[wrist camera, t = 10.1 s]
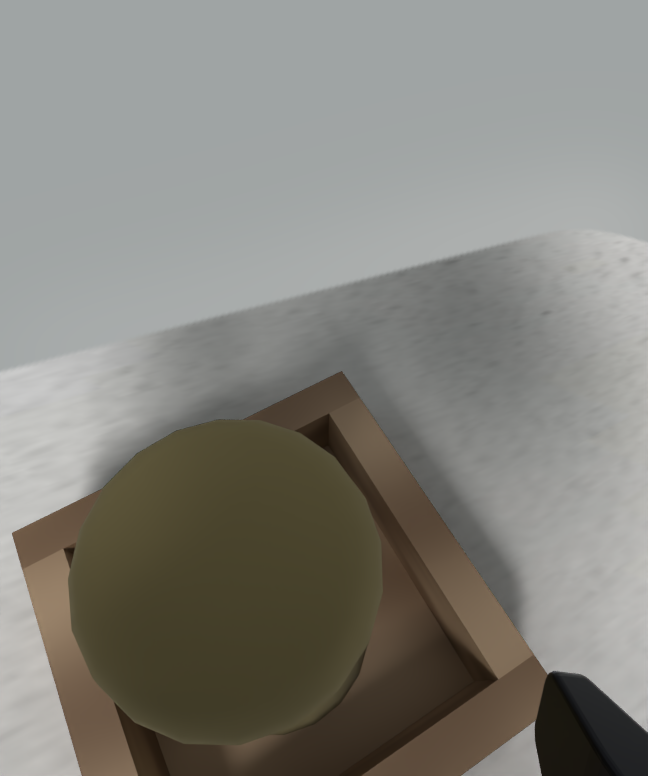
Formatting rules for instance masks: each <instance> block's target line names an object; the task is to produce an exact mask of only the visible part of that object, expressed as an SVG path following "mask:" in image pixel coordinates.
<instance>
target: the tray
mask: <svg viewBox="0 0 648 776" xmlns="http://www.w3.org/2000/svg"><path fill="white" fill-rule="evenodd" d="M243 420H261V421H264V422H268V423H271V424H274V425H277V426H280V427H283V428H286V429H290V430H293V431H296V432H299V433H301V434H303V435H304V436H305V437H307V438H308V439H310V440H311V441H313V442H314V443H315V444H317V445H318V446H320V447H321V448H323V449H324V450H325V451H327V452H328V453H330V454H331V455H332V456H334V457H335V458H336V459H337V461H338V462H339V463H340V465H341V466H342V467H343V469H344V470H345V471H346V473H347V474H348V475H349V477H350V478H351V479H352V481H353V482H354V483H355V484H356V486H357V487H358V488H359V490H360V491H361V492H362V494H363V495H364V497H365V498H366V500H367V503H368V506H369V509H370V512H371V515H372V517H373V520H374V523H375V526H376V529H377V532H378V535H379V537H380V540H381V548H382V580H383V594H382V597H381V601H380V605H379V608H378V612H377V615H376V619H375V623H374V626H373V630H372V633H371V637H370V640H369V644H368V645H367V649H366V652H365V656H364V659H363V663H362V666H361V670H360V674H359V676H358V677H357V679H356V681H355V682H354V684H353V685H352V687H351V688H350V690H349V691H348V693H347V695H346V696H345V698H344V699H343V701H342V702H341V703H340V704H339V705H338V706H337V707H336V708H334V709H333V710H332V711H331V712H329V713H328V714H327V715H326V716H325V717H323V718H322V719H321V720H320V721H318V722H317V723H316V724H314V725H311V726H308V727H306V728H303V729H300V730H297V731H294V732H291V733H289V734H286V735H268V736H265V737H262V738H259V739H256V740H254V741H251V742H248V743H245V744H242V745H204V744H183V743H181V742H178V741H176V740H174V739H172V738H169V737H167V736H165V735H162V734H160V733H158V732H155V731H153V730H151V729H148V728H146V727H144V726H141V725H139V724H137V723H135V722H134V721H133V720H132V719H131V718H130V717H129V716H128V715H127V714H126V713H125V712H124V711H123V710H122V709H121V708H120V707H119V706H118V705H117V704H116V703H115V702H114V701H113V700H112V699H111V698H110V697H109V696H108V695H107V694H106V693H105V692H104V691H103V690H102V689H101V688H100V687H99V686H98V685H97V683H96V682H95V681H94V679H93V678H92V676H91V674H90V671H89V669H88V667H87V665H86V662H85V660H84V658H83V655H82V653H81V651H80V648H79V646H78V644H77V642H76V639H75V637H74V635H73V632H72V629H71V616H70V602H69V588H68V576H69V572H70V568H71V563H72V559H73V555H74V551H75V547H76V542H77V538H78V534H79V530H80V528H81V526H82V525H83V523H84V521H85V519H86V517H87V516H88V514H89V512H90V510H91V509H92V507H93V505H94V503H95V501H96V500H97V498H98V496H99V494H100V493H101V491H102V489H101V490H99V491H97V492H95V493H93V494H90V495H88V496H86V497H84V498H82V499H80V500H78V501H76V502H74V503H72V504H70V505H68V506H66V507H64V508H62V509H60V510H58V511H56V512H54V513H52V514H50V515H48V516H46V517H44V518H42V519H40V520H38V521H36V522H33V523H31V524H29V525H27V526H25V527H23V528H21V529H19V530H17V531H15V532H13V533H12V535H13V539H14V542H15V546H16V549H17V553H18V556H19V560H20V563H21V567H22V570H23V574H24V577H25V580H26V584H27V587H28V591H29V594H30V598H31V601H32V605H33V608H34V612H35V615H36V619H37V622H38V625H39V629H40V632H41V636H42V639H43V643H44V646H45V650H46V653H47V657H48V660H49V664H50V667H51V670H52V674H53V677H54V681H55V684H56V688H57V691H58V695H59V698H60V702H61V705H62V709H63V712H64V715H65V719H66V722H67V726H68V729H69V733H70V736H71V740H72V743H73V747H74V750H75V754H76V757H77V760H78V764H79V767H80V771H81V774H82V776H461V775H462V774H464V773H465V772H466V771H468V770H469V769H470V768H472V767H473V766H475V765H476V764H477V763H479V762H480V761H481V760H483V759H484V758H485V757H487V756H488V755H489V754H491V753H492V752H493V751H495V750H496V749H498V748H499V747H500V746H502V745H503V744H504V743H506V742H507V741H508V740H510V739H511V738H512V737H514V736H515V735H516V734H518V733H519V732H520V731H522V730H523V729H525V728H526V727H527V726H529V725H530V724H531V723H533V722H534V721H535V720H536V718H537V713H538V709H539V705H540V700H541V696H542V692H543V687H544V683H545V679H546V677H547V673H546V672H545V670H544V669H543V667H542V666H541V664H540V663H539V661H538V660H537V658H536V657H535V655H534V654H533V653H532V651H531V650H530V648H529V647H528V645H527V644H526V642H525V641H524V639H523V638H522V636H521V635H520V633H519V632H518V630H517V629H516V627H515V626H514V624H513V623H512V622H511V620H510V619H509V617H508V616H507V614H506V613H505V611H504V610H503V608H502V607H501V605H500V604H499V602H498V601H497V599H496V598H495V596H494V595H493V593H492V592H491V591H490V589H489V588H488V586H487V585H486V583H485V582H484V580H483V579H482V577H481V576H480V574H479V573H478V571H477V570H476V568H475V567H474V565H473V564H472V562H471V561H470V560H469V558H468V557H467V555H466V554H465V552H464V551H463V549H462V548H461V546H460V545H459V543H458V542H457V540H456V539H455V537H454V536H453V534H452V533H451V531H450V530H449V529H448V527H447V526H446V524H445V523H444V521H443V520H442V518H441V517H440V515H439V514H438V512H437V511H436V509H435V508H434V506H433V505H432V503H431V502H430V500H429V499H428V498H427V496H426V495H425V493H424V492H423V490H422V489H421V487H420V486H419V484H418V483H417V481H416V480H415V478H414V477H413V475H412V474H411V472H410V471H409V469H408V468H407V467H406V465H405V464H404V462H403V461H402V459H401V458H400V456H399V455H398V453H397V452H396V450H395V449H394V447H393V446H392V444H391V443H390V441H389V440H388V439H387V437H386V436H385V434H384V433H383V431H382V430H381V428H380V427H379V425H378V424H377V422H376V421H375V419H374V418H373V416H372V415H371V413H370V412H369V410H368V409H367V408H366V406H365V405H364V403H363V402H362V400H361V399H360V397H359V396H358V394H357V393H356V391H355V390H354V388H353V387H352V385H351V384H350V382H349V381H348V379H347V378H346V377H345V375H344V374H343V372H342V371H341V372H339V373H337V374H335V375H333V376H331V377H329V378H327V379H325V380H323V381H321V382H319V383H316V384H314V385H312V386H310V387H308V388H306V389H304V390H302V391H300V392H298V393H296V394H294V395H292V396H290V397H288V398H286V399H284V400H282V401H280V402H278V403H276V404H274V405H272V406H270V407H268V408H266V409H264V410H262V411H259V412H257V413H255V414H253V415H251V416H249V417H247V418H245V419H243Z"/></svg>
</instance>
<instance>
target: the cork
mask: <svg viewBox="0 0 648 776" xmlns="http://www.w3.org/2000/svg"><path fill="white" fill-rule="evenodd" d="M68 588H69V602H70V616H71V629H72V632H73V635H74V637H75V639H76V642H77V644H78V646H79V648H80V651H81V653H82V655H83V658H84V660H85V662H86V665H87V667H88V669H89V671H90V674H91V676H92V678H93V679H94V681H95V682H96V683H97V685H98V686H99V687H100V688H101V689H102V690H103V691H104V692H105V693H106V694H107V695H108V696H109V697H110V698H111V699H112V700H113V701H114V702H115V703H116V704H117V705H118V706H119V707H120V708H121V709H122V710H123V711H124V712H125V713H126V714H127V715H128V716H129V717H130V718H131V719H132V720H133V721H134V722H135V723H137V724H139V725H141V726H144V727H146V728H148V729H151V730H153V731H155V732H158V733H160V734H162V735H165V736H167V737H169V738H172V739H174V740H176V741H178V742H181V743H183V744H204V745H242V744H245V743H248V742H251V741H254V740H256V739H259V738H262V737H265V736H268V735H286V734H289V733H291V732H294V731H297V730H300V729H303V728H306V727H308V726H311V725H314V724H316V723H317V722H318V721H320V720H321V719H322V718H323V717H325V716H326V715H327V714H328V713H329V712H331V711H332V710H333V709H334V708H336V707H337V706H338V705H339V704H340V703H341V702H342V701H343V699H344V698H345V696H346V695H347V693H348V691H349V690H350V688H351V687H352V685H353V684H354V682H355V681H356V679H357V677H358V676H359V674H360V670H361V666H362V663H363V659H364V656H365V652H366V649H367V645H368V644H369V640H370V637H371V633H372V630H373V626H374V623H375V619H376V615H377V612H378V608H379V605H380V601H381V597H382V594H383V580H382V548H381V540H380V537H379V535H378V532H377V529H376V526H375V523H374V520H373V517H372V515H371V512H370V509H369V506H368V503H367V500H366V498H365V497H364V495H363V494H362V492H361V491H360V490H359V488H358V487H357V486H356V484H355V483H354V482H353V481H352V479H351V478H350V477H349V475H348V474H347V473H346V471H345V470H344V469H343V467H342V466H341V465H340V463H339V462H338V461H337V459H336V458H335V457H334V456H332V455H331V454H330V453H328V452H327V451H325V450H324V449H323V448H321V447H320V446H318V445H317V444H315V443H314V442H313V441H311V440H310V439H308V438H307V437H305V436H304V435H303V434H301V433H299V432H296V431H293V430H290V429H286V428H283V427H280V426H277V425H274V424H271V423H268V422H264V421H261V420H214V421H211V422H207V423H203V424H199V425H196V426H192V427H188V428H184V429H181V430H177V431H175V432H173V433H171V434H170V435H168V436H166V437H164V438H163V439H161V440H159V441H158V442H156V443H154V444H152V445H151V446H149V447H147V448H146V449H144V450H142V451H140V452H139V453H137V454H136V455H135V456H134V457H133V458H132V459H131V460H130V461H129V462H128V463H127V464H126V465H125V466H124V467H123V468H122V469H121V470H120V471H119V472H118V473H117V474H116V475H115V476H114V477H113V478H112V479H111V480H110V481H109V482H108V483H107V484H106V485H105V486H104V487H103V489H102V491H101V493H100V494H99V496H98V498H97V500H96V501H95V503H94V505H93V507H92V509H91V510H90V512H89V514H88V516H87V517H86V519H85V521H84V523H83V525H82V526H81V528H80V530H79V534H78V538H77V542H76V547H75V551H74V555H73V559H72V563H71V568H70V572H69V576H68Z"/></svg>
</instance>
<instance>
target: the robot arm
mask: <svg viewBox="0 0 648 776" xmlns="http://www.w3.org/2000/svg"><path fill="white" fill-rule="evenodd" d="M535 742H536V748H537V753H538V758H539V763H540V768H541V774H542V776H648V732H647V731H645V730H644V729H643V728H642V727H641V726H640V725H639V724H638V723H637V722H636V721H634V720H633V719H632V718H631V717H630V716H629V715H628V714H627V713H626V712H625V711H623V710H622V709H621V708H620V707H619V706H618V705H617V704H616V703H615V702H614V701H612V700H611V699H610V698H609V697H608V696H607V695H606V694H605V693H604V692H603V691H601V690H600V689H599V688H598V687H597V686H596V685H595V684H594V683H593V682H592V681H590V680H589V679H588V678H587V677H585V676H583V675H581V674H575V673H567V672H559V671H553V672H550V673H549V674H548V675H547V677H546V679H545V683H544V687H543V692H542V696H541V700H540V705H539V709H538V713H537V718H536V723H535Z"/></svg>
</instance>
